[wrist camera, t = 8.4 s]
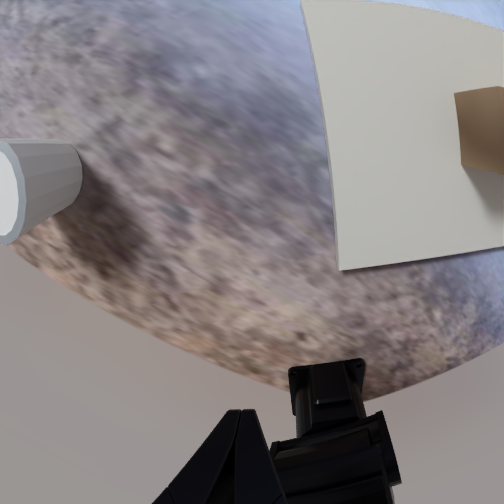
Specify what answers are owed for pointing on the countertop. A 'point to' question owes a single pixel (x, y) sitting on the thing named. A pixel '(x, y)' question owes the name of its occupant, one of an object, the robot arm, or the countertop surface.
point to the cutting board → (402, 129)
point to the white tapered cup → (35, 183)
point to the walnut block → (481, 128)
